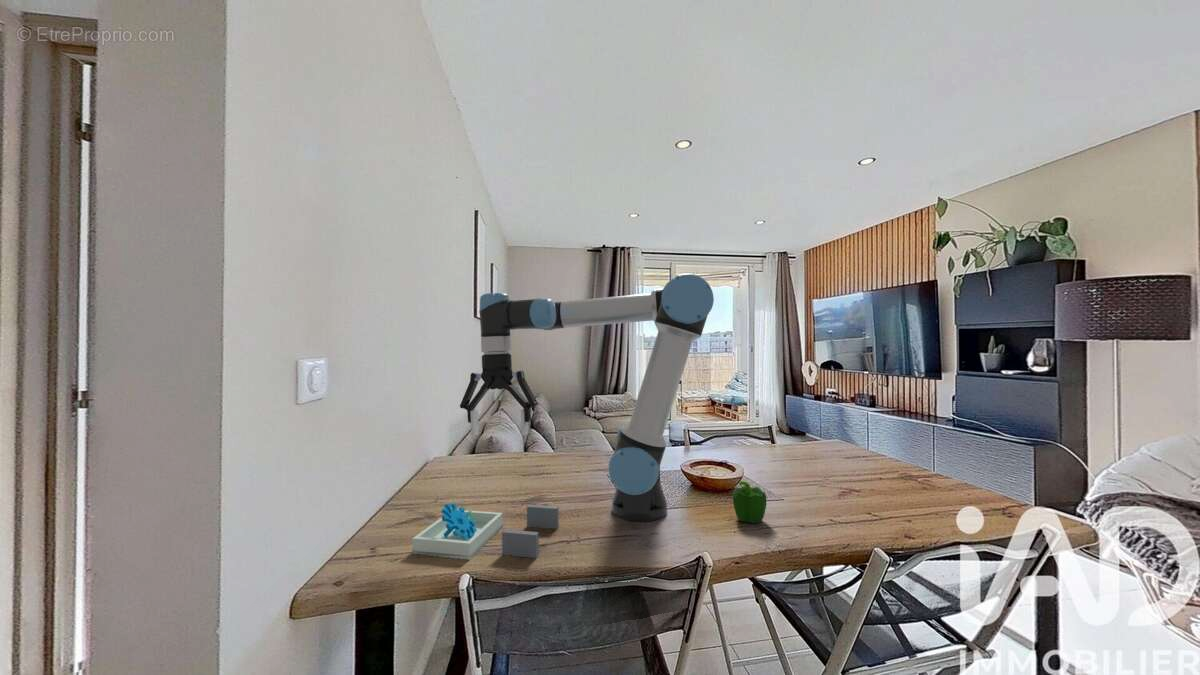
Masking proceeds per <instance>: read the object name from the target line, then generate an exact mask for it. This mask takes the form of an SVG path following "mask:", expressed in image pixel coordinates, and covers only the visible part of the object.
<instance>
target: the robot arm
mask: <svg viewBox="0 0 1200 675" xmlns="http://www.w3.org/2000/svg"><path fill="white" fill-rule="evenodd" d="M713 305H714V292H713V290H712V286H710V284H709V283H708V281H706V279H704V278H703V277H702V276H699V275H697V274H694V273H681V274H679V275H676V276H674V277H672V278H671V279H669V281H668V282H667V283H666V285H665V286H664V287H661V288H654V289H653V290H652V291H651V292H650V293H649V292H647V293H640V294H639V293H638V294H628V295H620V296H608V297H597V298H589V299H587V298H586V299H577V300H566V301H555V302H554V301H553V299H551V298H541V297H540V298H533V299H519V300H512V299H511V300H510V296H509V294H507V293H505V292H491V293H489V292H488V293H483V294H482V295H480V297H479V310H478V311H479V321H480V348H481V349H480V350H481V351H480V352H481V353H483V354H482V355H481V368H482V372H478V371H475V372H472V373H470V378H469V383H468V385H467V388H466V391H465V393H464V394H463V398H462V400H461V402H460V404H459V408H460V409H464V410H465V411H467V413H466V414H467V422H468V424H470V431H471V432H470V433H471V437H476V436H478V435H479V433H480V432H479V412H478V411H479V410H478V409H476V407H477V406H478V404H479V403H480V402H481V400H482V399H483V398H484V396H485V395H486V394H487V392H488V391H489V390H496V389H497V390H504V389H505V391H507V392H509V394H510V395H512V397H513V398H514V399H515V400H516V401H517V403H518V404H519V405H520V406H521V408H522V409H521V410H520V426H521V430H520V431H521V436H522V437H525V436H527V435H528V434H529V426H528V424H529V422H531V420H532V415H531V414H532V413H531V410H532V408H534V407H536V406H537V405H538V401H537V399H536V397H535V395H534V394H533V391H532V390H531V388H530V386H529V383H528V382H527V380H526V376H525V372H524V370H518V371H514V372H513V370H512V354H511V353H509V352H510V351H512V349H511V348H512V345H511V344H512V340H511V330H544V331H553V330H556V329H557V330H558V329H559V330H560V329H567V328H569V329H570V328H581V327H588V326H589V327H591V326H601V325H603V326H604V325H615V324H627V323H629V324H630V323H638V322H639V323H641V322H650V321H653V322H654V325H655V327H656V329H657V335H656V337H655V340H654V344H653V347H652V350H651V353H650V357H649V359H648V360H649V361H648V364H647V365H646V366H647V367H646V369H645V372H644V376H643V379H642V382H641V385H640V388H639V392H638V395H637V398H636V401H635V404H634V407H633V411H632V414H631V417H630V421H629V423H628V424H627V425H625V426H623V427H620V428H618V429H617V435H616V438H617V440H616V444H615V447H614V451H613V454H612V456H611V457H610V459H609V462H608V475H609V478H610V480H611V482H612V483H613V485H614V487H616V489H615V491H614V495H613V498H612V502H611V511H612V513H613V515H615V516H616V517H617V518H620V519H623V520H626V521H631V522H632V521H633V522H650V521H655V520H659V519H662V518H664V517H665V516H666V515H667V513H668V502H667V499H666V497H665V492H664V491H663V490H664V489H663V488H662V487H663V486H662V485H661V464H662V460H663V457H664V454H665V451H666V447H667V441H666V439H665V438H664V437H665V436H664V433H665V430H666V426H667V423H668V420H669V418H670V413H671V412H672V407H673V404H674V403H675V402H674V401H675V399H676V395H677V393H678V389H679V386H680V383H681V379H682V376H683V374H684V370H685V367H686V363H687V360H688V358H689V354H690V351H691V348H692V344H693V342H695V341H696V340H699V339H700V338H701V337H702V334H703V332H704V329H705V325H706V322H707V319H708V315H709V314H710V312H711V311H712V309H713ZM513 378H514V379H515V380H516V381H517V384H518V385H519V386H520V388H521V391H522V393H523V394H522V393H521V392H520V391H519V390H518V388H517V387H516V385H515V384H514V383H513V382H512V380H513ZM481 379H482V381H483V384H482V385H481V387H480V388H479V390H478V391H477V393H476V394H475V396H474V393H475V391H476V388H477V386H478V383H479V381H481ZM523 395H524V396H523ZM473 396H474V397H473Z"/></svg>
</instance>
